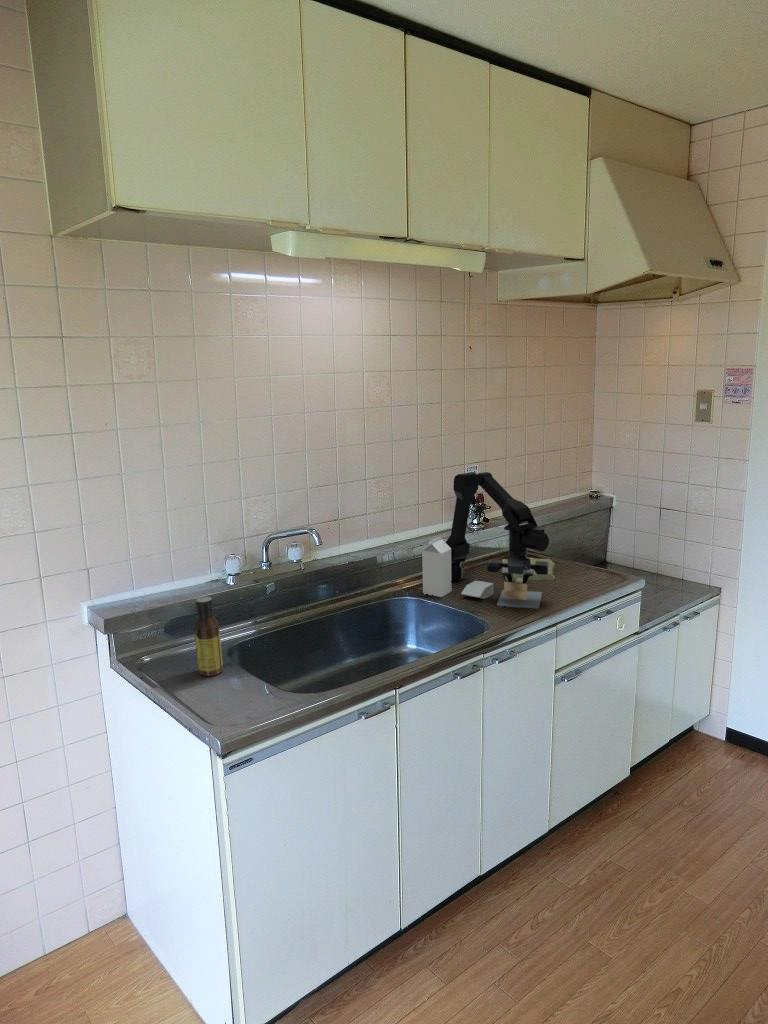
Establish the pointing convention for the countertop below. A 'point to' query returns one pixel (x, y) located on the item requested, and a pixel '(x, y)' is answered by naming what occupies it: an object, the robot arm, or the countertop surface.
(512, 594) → the wooden t-shaped block
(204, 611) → the sauce bottle
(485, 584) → the paper bag
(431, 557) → the milk carton
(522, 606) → the tool mat
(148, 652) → the countertop surface
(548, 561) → the decorative tile
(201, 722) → the countertop surface
